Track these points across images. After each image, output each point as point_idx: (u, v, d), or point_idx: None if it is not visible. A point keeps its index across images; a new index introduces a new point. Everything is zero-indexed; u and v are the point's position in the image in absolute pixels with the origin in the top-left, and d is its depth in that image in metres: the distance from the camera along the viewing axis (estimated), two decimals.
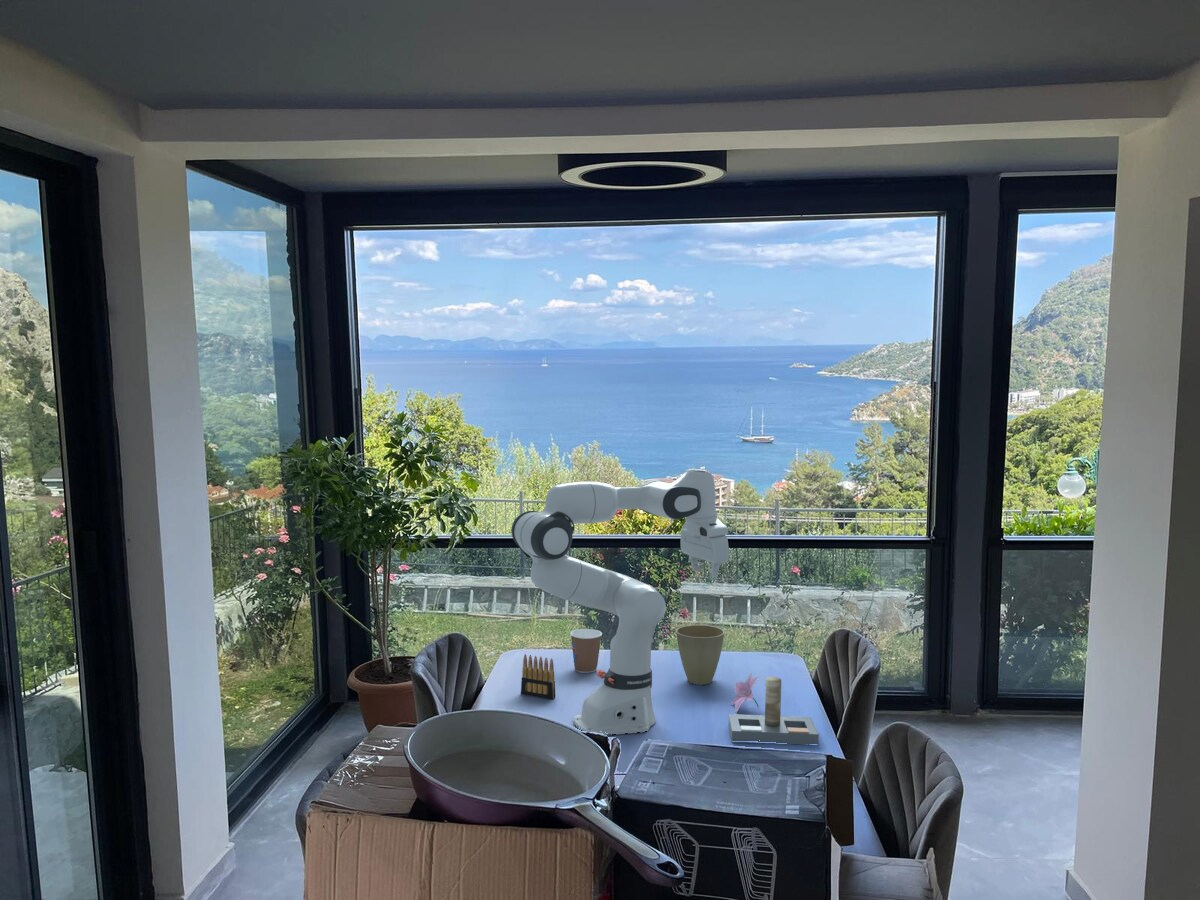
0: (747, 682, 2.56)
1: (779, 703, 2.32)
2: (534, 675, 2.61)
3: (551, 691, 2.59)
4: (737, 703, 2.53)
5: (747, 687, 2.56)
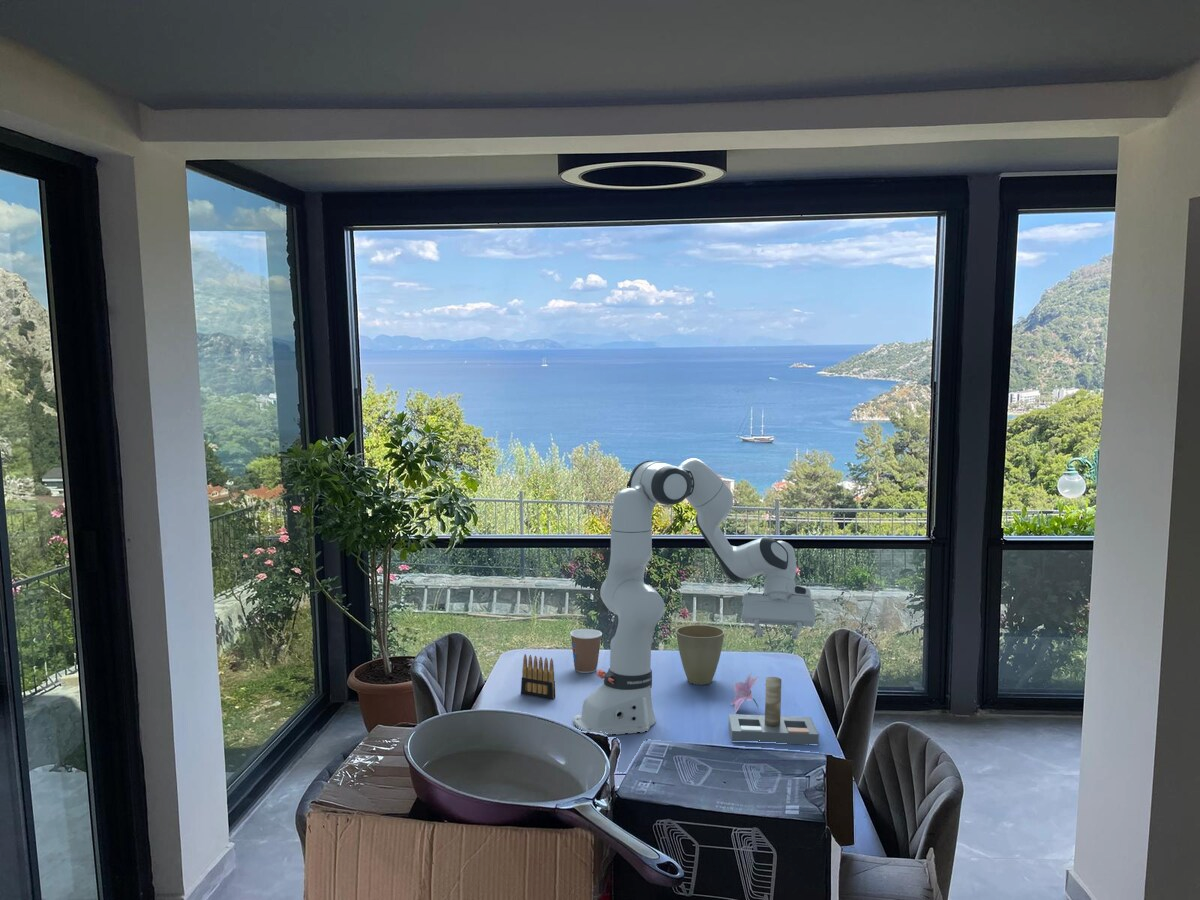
0: (747, 682, 2.56)
1: (779, 703, 2.32)
2: (534, 675, 2.61)
3: (551, 691, 2.59)
4: (737, 703, 2.53)
5: (747, 687, 2.56)
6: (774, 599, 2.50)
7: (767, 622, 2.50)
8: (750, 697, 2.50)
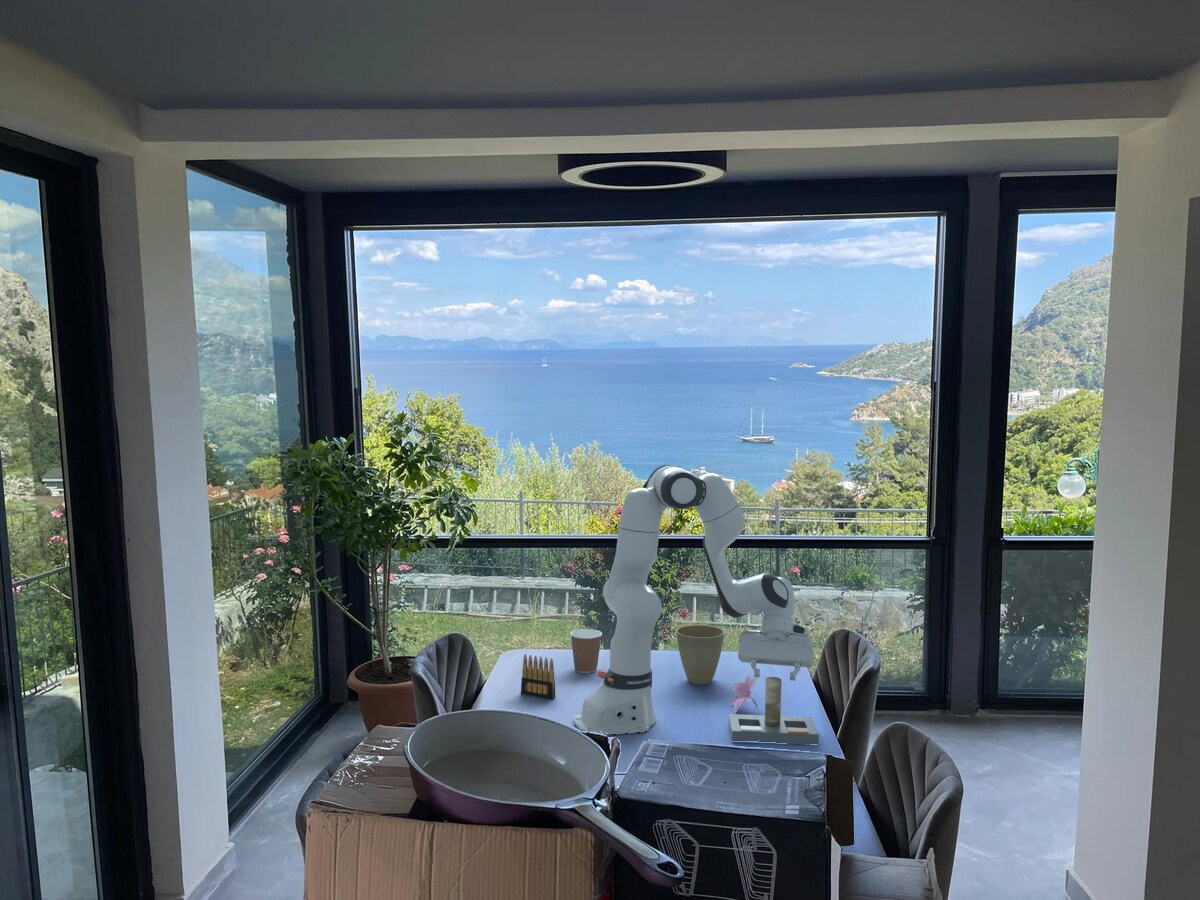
0: (746, 682, 2.56)
1: (779, 703, 2.32)
2: (534, 675, 2.61)
3: (551, 691, 2.59)
4: (736, 704, 2.52)
5: (746, 687, 2.55)
6: (772, 638, 2.44)
7: (764, 662, 2.43)
8: (749, 697, 2.49)
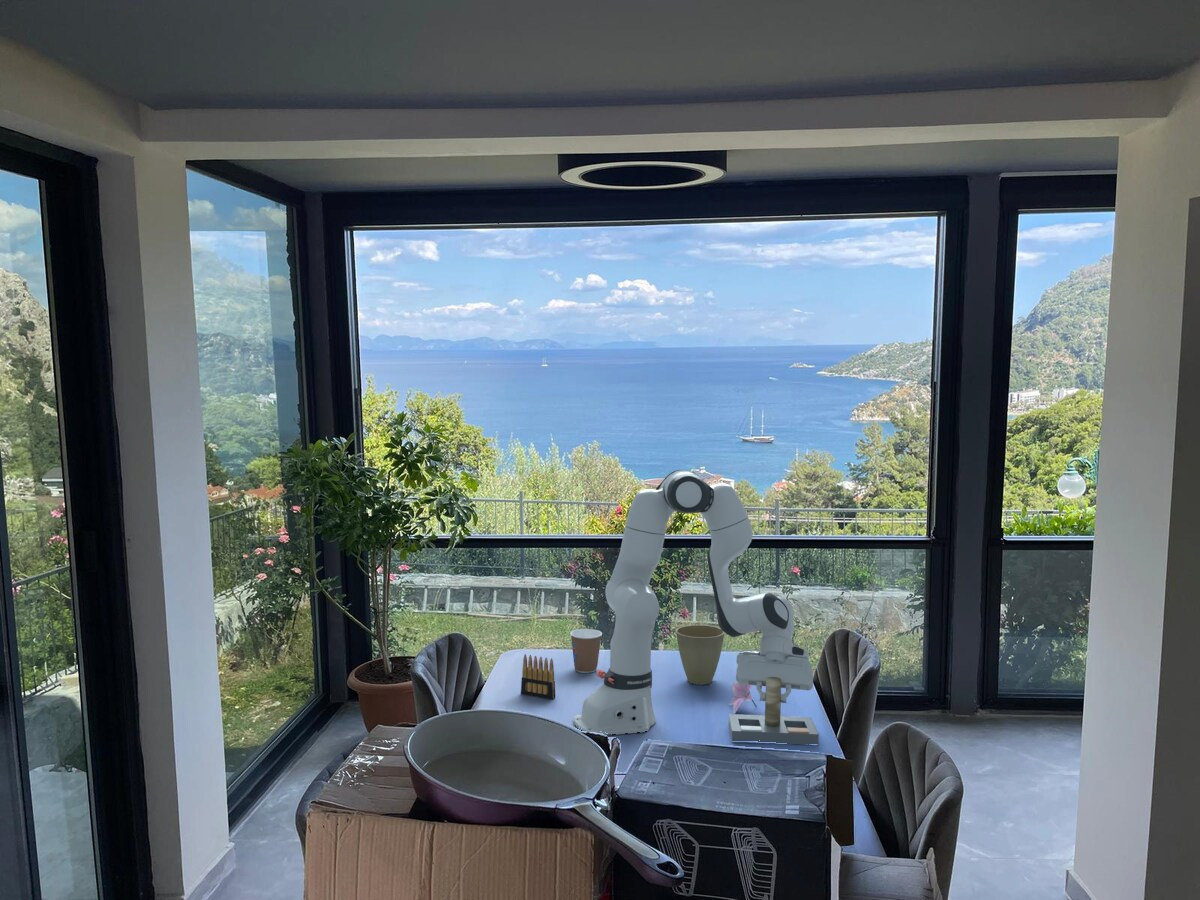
0: None
1: (779, 703, 2.32)
2: (534, 675, 2.61)
3: (551, 691, 2.59)
4: (735, 704, 2.52)
5: (745, 688, 2.55)
6: (770, 660, 2.38)
7: (762, 684, 2.38)
8: (749, 698, 2.49)
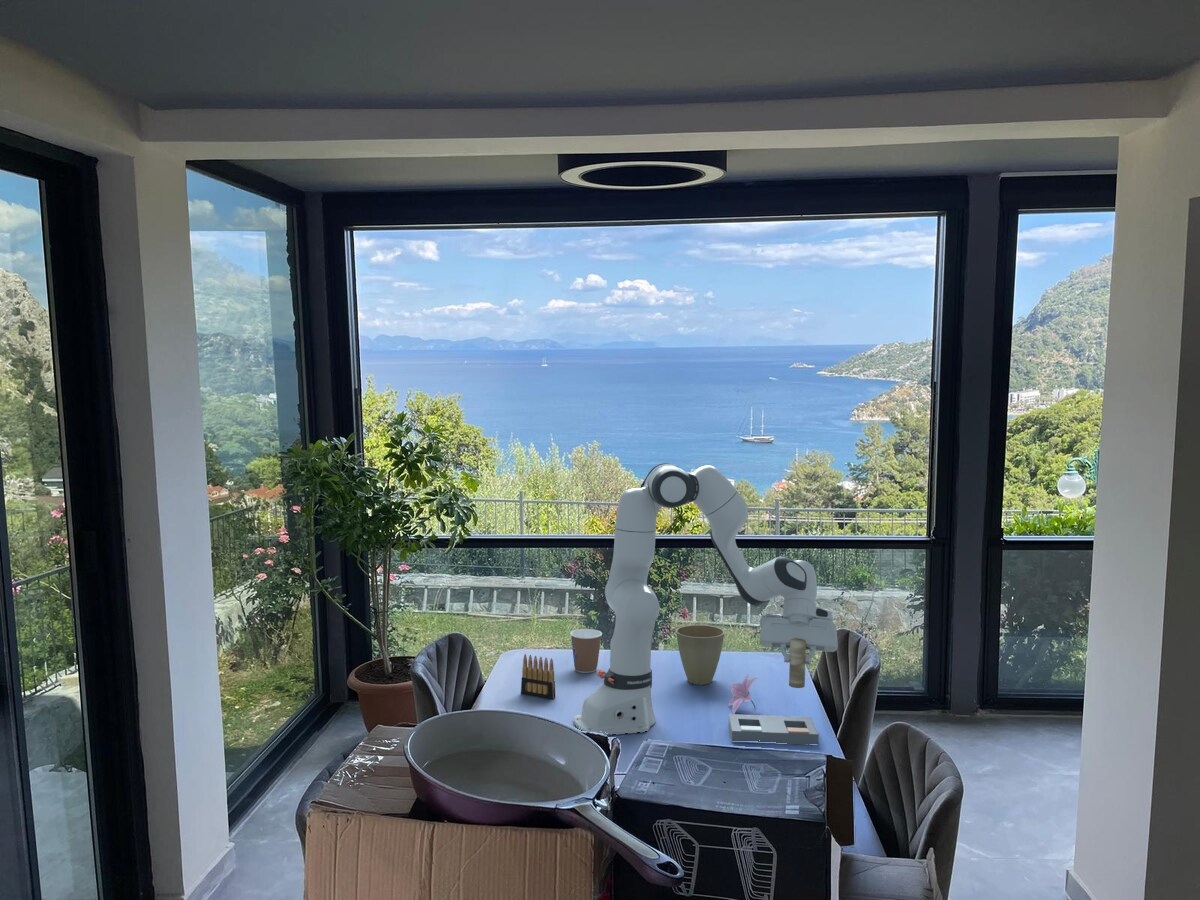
0: (744, 683, 2.56)
1: (804, 664, 2.31)
2: (534, 675, 2.61)
3: (551, 691, 2.59)
4: (734, 704, 2.52)
5: (744, 688, 2.55)
6: (794, 622, 2.37)
7: (786, 646, 2.37)
8: (748, 698, 2.49)
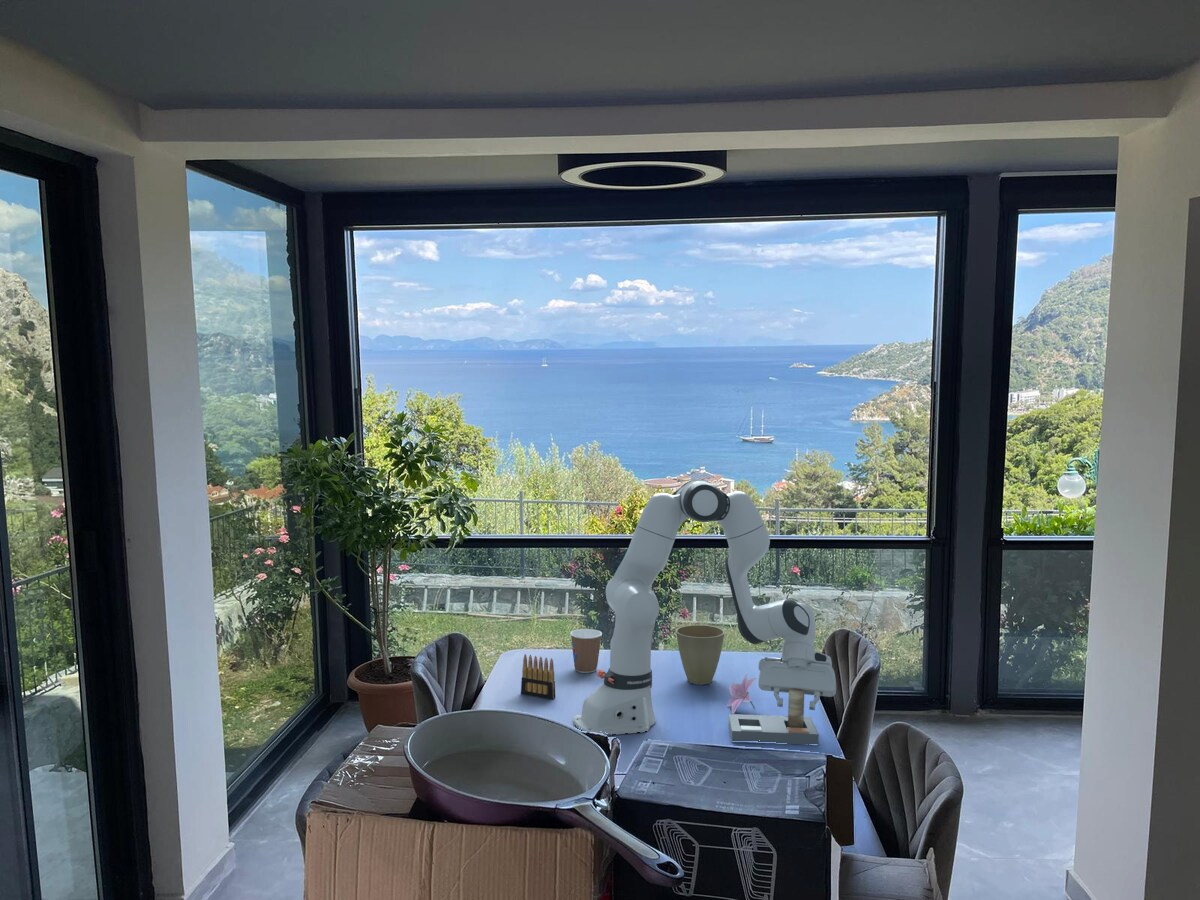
0: (743, 683, 2.55)
1: (802, 715, 2.32)
2: (534, 675, 2.61)
3: (551, 691, 2.59)
4: (733, 705, 2.51)
5: (743, 689, 2.54)
6: (793, 666, 2.38)
7: (785, 690, 2.38)
8: (747, 698, 2.48)
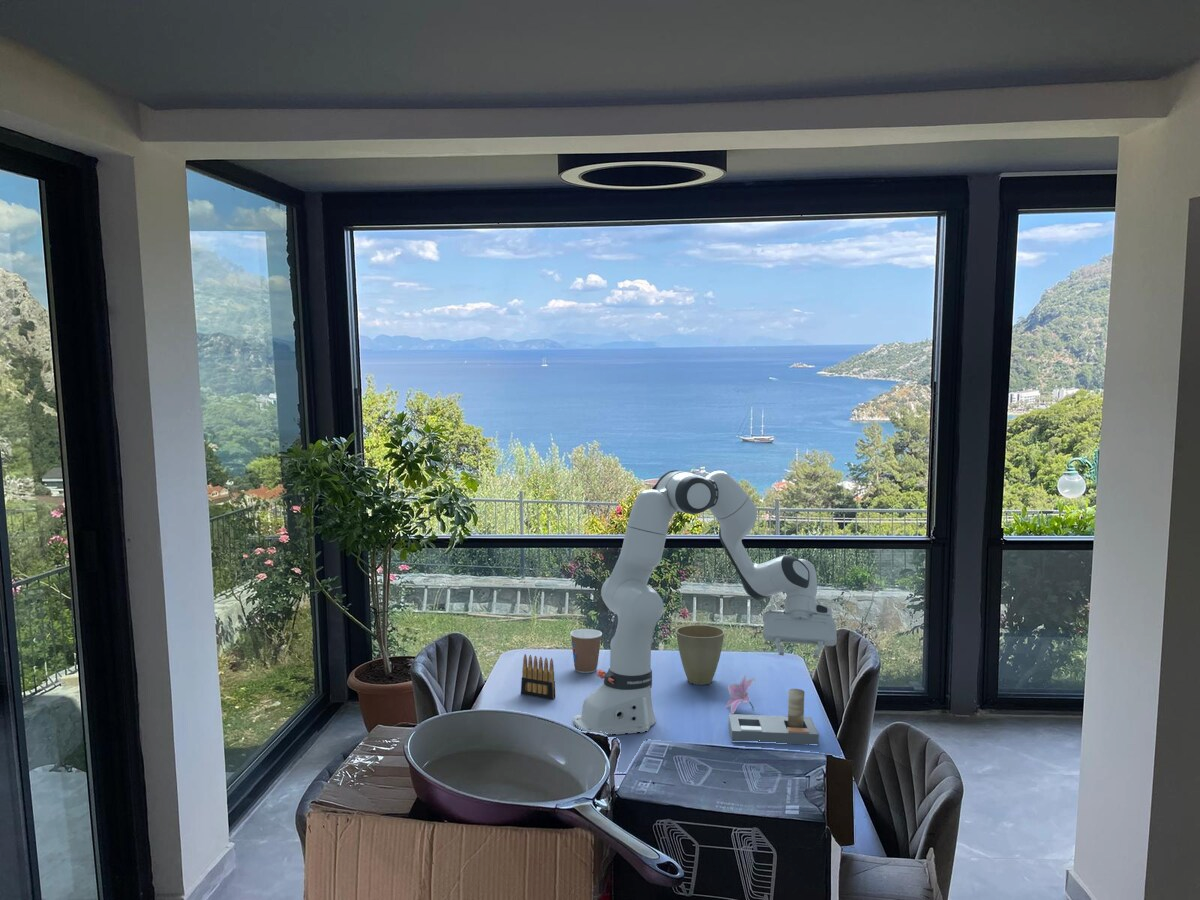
0: (742, 684, 2.55)
1: (802, 715, 2.32)
2: (534, 675, 2.61)
3: (551, 691, 2.59)
4: (733, 705, 2.51)
5: (742, 689, 2.54)
6: (795, 617, 2.50)
7: (788, 640, 2.49)
8: (747, 699, 2.48)
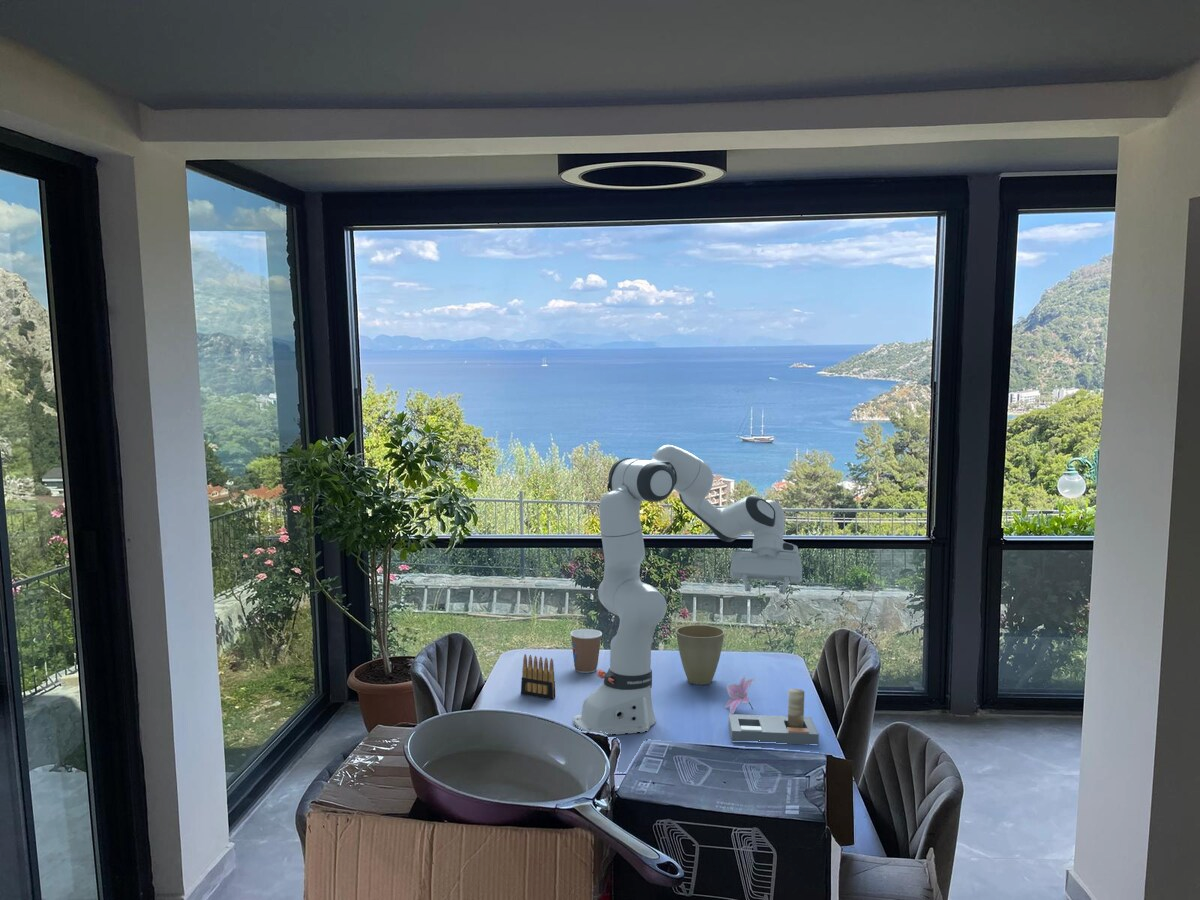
0: (741, 684, 2.54)
1: (802, 715, 2.32)
2: (534, 675, 2.61)
3: (551, 691, 2.59)
4: (732, 706, 2.51)
5: (741, 689, 2.54)
6: (762, 555, 2.55)
7: (755, 578, 2.54)
8: (746, 699, 2.48)
